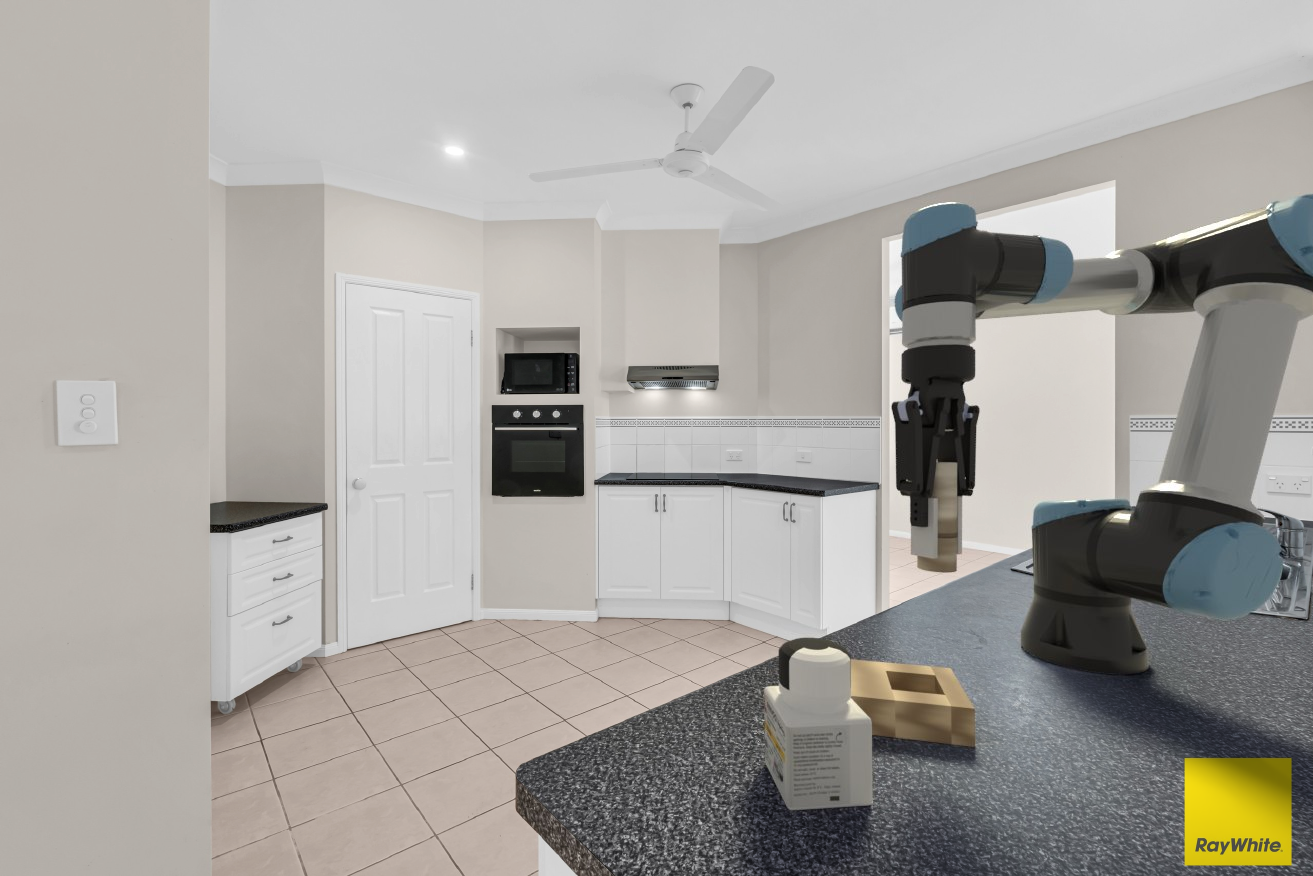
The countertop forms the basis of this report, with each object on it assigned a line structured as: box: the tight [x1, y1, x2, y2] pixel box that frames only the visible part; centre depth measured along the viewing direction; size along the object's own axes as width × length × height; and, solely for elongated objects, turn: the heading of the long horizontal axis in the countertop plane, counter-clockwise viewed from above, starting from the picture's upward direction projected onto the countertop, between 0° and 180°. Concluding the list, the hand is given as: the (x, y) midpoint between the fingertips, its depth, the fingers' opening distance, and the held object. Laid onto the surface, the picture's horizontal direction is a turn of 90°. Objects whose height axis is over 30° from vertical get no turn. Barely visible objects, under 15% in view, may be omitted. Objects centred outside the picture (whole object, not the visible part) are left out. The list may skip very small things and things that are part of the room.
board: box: [851, 658, 976, 748], centre depth 68 cm, size 20×11×4 cm, turn 75°
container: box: [763, 637, 873, 811], centre depth 54 cm, size 8×8×13 cm
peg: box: [916, 462, 958, 574], centre depth 65 cm, size 4×4×12 cm
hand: (936, 553), depth 65 cm, fingers closed on peg, 4 cm apart
